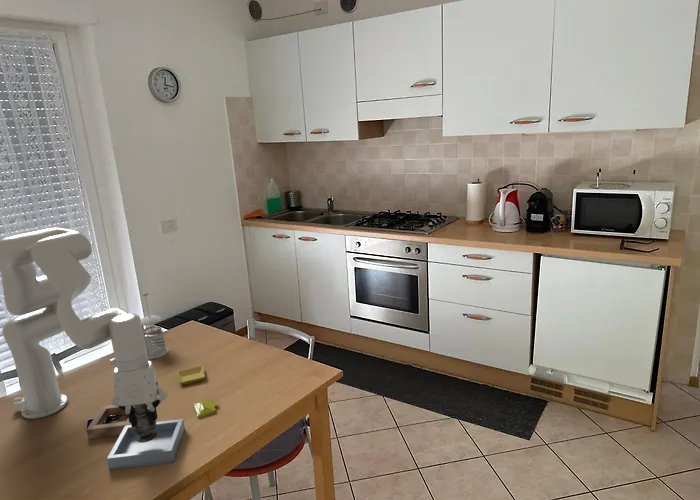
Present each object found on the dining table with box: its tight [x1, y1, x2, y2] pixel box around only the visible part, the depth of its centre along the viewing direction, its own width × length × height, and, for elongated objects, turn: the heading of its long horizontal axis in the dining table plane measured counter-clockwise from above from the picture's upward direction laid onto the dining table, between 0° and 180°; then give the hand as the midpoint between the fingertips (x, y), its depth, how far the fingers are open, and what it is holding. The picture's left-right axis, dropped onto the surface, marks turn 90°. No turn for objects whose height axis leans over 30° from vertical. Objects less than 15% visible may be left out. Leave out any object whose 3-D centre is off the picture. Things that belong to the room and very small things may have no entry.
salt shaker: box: [133, 404, 157, 443], centre depth 129 cm, size 6×6×12 cm
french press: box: [140, 291, 170, 360], centre depth 184 cm, size 10×12×25 cm
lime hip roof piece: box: [193, 398, 219, 419], centre depth 148 cm, size 10×9×3 cm
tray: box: [106, 418, 186, 471], centre depth 131 cm, size 16×14×4 cm
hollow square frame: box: [86, 404, 135, 440], centre depth 143 cm, size 12×12×3 cm
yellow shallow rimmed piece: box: [176, 365, 206, 386], centre depth 167 cm, size 9×9×2 cm
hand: (144, 422), depth 129 cm, fingers closed on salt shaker, 4 cm apart
